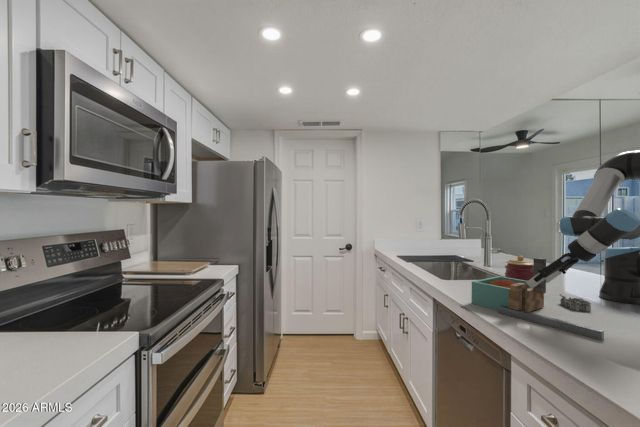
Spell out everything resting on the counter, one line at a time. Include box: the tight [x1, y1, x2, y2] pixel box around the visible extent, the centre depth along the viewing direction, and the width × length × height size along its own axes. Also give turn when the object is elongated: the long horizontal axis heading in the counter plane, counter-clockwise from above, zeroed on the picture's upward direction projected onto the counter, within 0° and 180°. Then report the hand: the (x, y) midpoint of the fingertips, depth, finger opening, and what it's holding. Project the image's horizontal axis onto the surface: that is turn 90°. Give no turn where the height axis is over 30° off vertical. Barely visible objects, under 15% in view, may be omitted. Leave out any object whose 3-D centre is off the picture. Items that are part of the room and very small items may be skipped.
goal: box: [471, 275, 531, 311], centre depth 127 cm, size 22×17×9 cm
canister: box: [504, 255, 534, 281], centre depth 146 cm, size 13×13×18 cm
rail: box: [497, 306, 605, 341], centre depth 104 cm, size 2×30×2 cm, turn 34°
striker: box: [509, 257, 547, 313], centre depth 116 cm, size 23×6×20 cm, turn 124°
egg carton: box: [559, 294, 592, 312], centre depth 124 cm, size 11×8×4 cm
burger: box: [490, 280, 516, 288], centre depth 127 cm, size 14×14×10 cm
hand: (537, 282), depth 118 cm, fingers open, 12 cm apart
